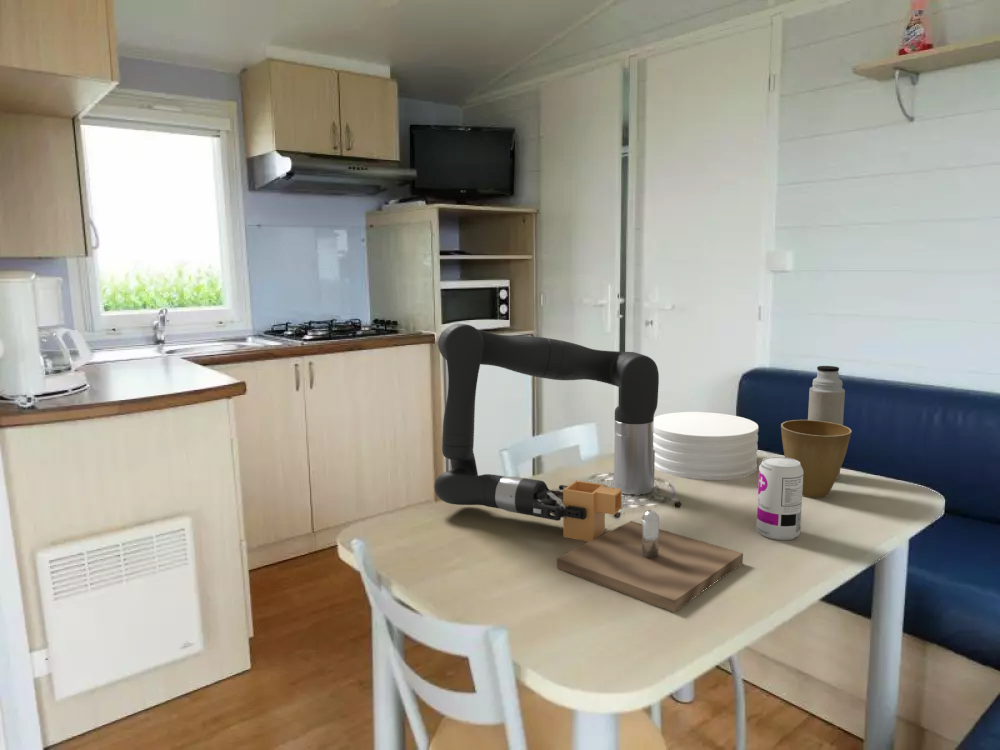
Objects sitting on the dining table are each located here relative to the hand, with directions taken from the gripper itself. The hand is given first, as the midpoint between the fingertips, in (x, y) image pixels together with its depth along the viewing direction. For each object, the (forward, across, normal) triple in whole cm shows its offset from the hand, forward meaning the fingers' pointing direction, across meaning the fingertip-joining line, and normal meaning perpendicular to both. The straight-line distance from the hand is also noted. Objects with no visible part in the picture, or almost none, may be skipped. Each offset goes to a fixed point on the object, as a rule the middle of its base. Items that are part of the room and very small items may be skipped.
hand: (593, 507), depth 140 cm
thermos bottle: (+37, +62, +6) cm, 73 cm away
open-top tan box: (0, 0, +6) cm, 6 cm away
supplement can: (+33, +18, +6) cm, 38 cm away
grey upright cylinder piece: (+14, -8, +4) cm, 17 cm away
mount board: (+14, -8, +6) cm, 18 cm away
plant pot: (+36, +47, +6) cm, 60 cm away
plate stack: (+8, +60, +6) cm, 60 cm away
